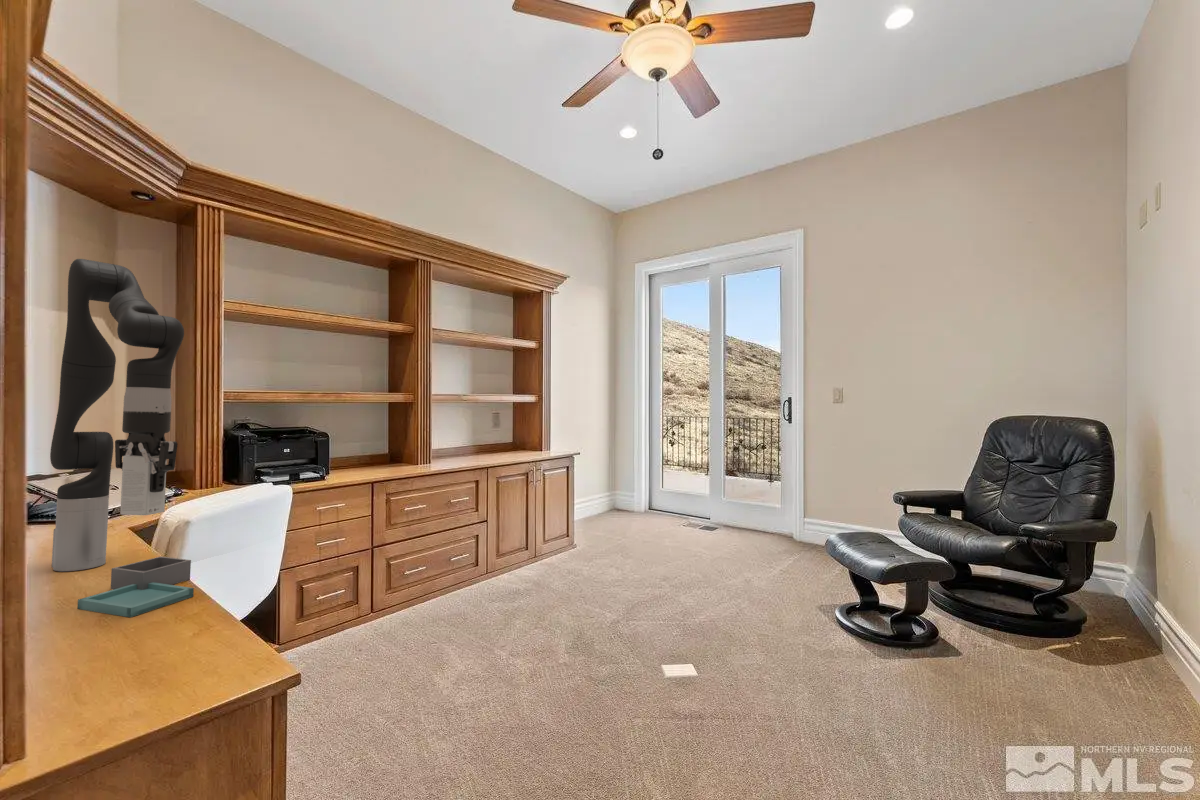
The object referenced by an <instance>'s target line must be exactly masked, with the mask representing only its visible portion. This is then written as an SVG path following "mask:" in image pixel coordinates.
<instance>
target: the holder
mask: <svg viewBox="0 0 1200 800" xmlns="http://www.w3.org/2000/svg"><path fill="white" fill-rule="evenodd" d="M191 561H192V560H191V559H186V558H177V557H168V556H156V557H153V558H149V559H144V560H139V561H136V562H133V563H132V562H131V563H129V564H124V565H120V566H116V567H112V568H111V569H110V570H111V573H110V574H111V575H110V590H114V589H118V588H121V587H125V586H128V585H132V584H137V589H139V590H144V589H148V584H149V583H153V582H154V583H161V584H169V585H176V584H180V583H182V582H183V583H184V582H186V581H189V580H191V568H192V567H191V565H192V562H191Z"/></svg>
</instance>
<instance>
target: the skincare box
mask: <svg viewBox="0 0 1200 800" xmlns="http://www.w3.org/2000/svg"><path fill="white" fill-rule="evenodd" d="M151 457H152V458H159V456H151ZM167 460H168V459H167ZM167 460H166V462H165V463H166V464H167V463H168V462H167ZM122 462H123V470H122V469H121V472H122V473H121V493H120V494H121V495H120V510H119V511H120V515H123V516H125V515H126V516H127V515H128V516H150V515H155V514H160V513H165V510H166V509H165V508H166V505H165V504H166V488H167V487H166V484H167V483H166V482H167V472H166V473H165V481H164V489H163V491H161V492H150V474H152V473H151V470H150V463H145V457H143V456H135V455H132V456H123V457H122ZM156 466H157V467H158V463H156Z"/></svg>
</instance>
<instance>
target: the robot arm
mask: <svg viewBox="0 0 1200 800" xmlns="http://www.w3.org/2000/svg"><path fill="white" fill-rule="evenodd" d="M90 301H93V302H95V301H96V302H103V303H108V310H109V313H110V315H111V316H112V317H113V319H114V320H115V321H116V322H117V329H116V331H117V337H118V338H119V340H120V341H121V342H122V343H124V344H126V345H128V346H131V347H137V348H138V347H139V348H148V349H156V350H157V349H158V350H157V353H156V354H155V355H154V356H152V357H146V358H136V359H132V360H129V362H128V363H127V367H126V380H125V381H126V382H125V383H126V384H125V386H126V387H125V391H124V395H123V407H122V408H123V409H122V426H121V427H122V429H121V430H122V432H123V433H125V434H128V436H127V439H123V438H122V439H116V440H115V441H114V439H113V436H112V434H111V433H110V432H107V431H75V430H76V427H77V425H78V423H79V422H80V419H81V417H82V416H83V415H84V414H85V413H86V412H87V410H88V409H90V407H91V406H93V404H95V403H96V402H97V401H98V400H99V399H100V398H102V396H103V395H104V394H105V393H107V391H109V389H110V388H111V387H112V385H113V384H114V380H115V370H116V363H117V361H116V360H117V357H116V355H115V351H114V349H113V348H112V347H111V345H110V344H109V343H108V342H107V340H106V338H105V337H104V336H103V335H102V333H101V332H100V330H99V328H98V327H97V326H96V323H95V322H94V320H93V318H92V315H91V309H90ZM66 313H67V315H66V316H67V319H66V321H67V323H66V330H65V339H64V344H63V351H62V352H63V353H62V357H61V358H62V359H61V368H60V377H59V380H60V381H59V383H60V384H59V395H58V396H59V397H58V407H57V413H56V417H55V418H56V419H55V423H54V430H53V434H52V439H51V446H50V452H49V453H50V457H49V458H50V464H51V466H52V467H53V468H54V469H55V470H60V471H65V470H66V471H67V470H70V471H72V470H86V469H87V470H88V469H89V470H91V472H90V473H89V474H87V475H85V476H83V477H81V478H80V479H77V480H75V481H71V482H68V483H65V484H62V485H59V486H58V488H57V491H56V510H55V512H56V515H55V528H54V529H53V532H52V533H53V534H52V535H53V537H52V553H51V554H52V556H51V568H52V569H53V571H55V572H73V571H83V570H88V569H93V568H97V567H101V566H102V565H105V564H106V561H107V560H106V559H107V547H108V546H107V544H108V542H107V541H108V525H109V524H108V523H109V522H108V521H109V503H110V502H109V501H110V484H111V471H112V463H113V455H115V456H114V458H115V460H114V461H115V462H114V463H115V468H116V469H121V471H122V470H123V456H132V455H135V456H143V457H145V463H150V470H151V473H152V474H150V492H161V491H163V489H164V481H165V473H166V474H167V473H168V472H169V471H173V470H174V469H175V466H176V459H177V453H178V452H177V451H178V442H177V441H175V440H173V441H171V440H170V441H167V440H166V438H165V434H167V433H169V432H171V421H172V420H171V419H172V392H171V391H172V390H171V389H172V388H171V385H172V372H173V371H172V370H173V366H174V364H175V363H174V362H175V359H176V357H177V354H178V352H179V350H180V347H181V346H182V342H183V340H184V336H185V329H184V326H183V324H182V322H181V321H180V320H179V319H177V318H175V317H173V316H168V315H160V314H159V311H158V310H157V309H156V308H155V307H154V306H153V305H152V304H151V303H150V302H149V301H148V300H147V299H146V298H145V296H144V294H143V290H142V289H141V286H140V284H139V283H138V280H137V278H136V277H135V275H134V273H133V272H132V271H131V270H130V269H129V268H127V267H125V266H123V265H118V264H115V263H108V262H103V261H102V262H101V261H96V260H91V259H90V260H89V259H85V258H76V259H74V260H73V261H72V262H71V264H70V267H69V271H68V277H67V312H66ZM151 456H159V458H152V457H151ZM166 460H168V462H166ZM165 462H166V463H165ZM156 463H158V467H157V466H156ZM167 463H168V464H167Z"/></svg>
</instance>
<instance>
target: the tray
mask: <svg viewBox="0 0 1200 800" xmlns="http://www.w3.org/2000/svg"><path fill="white" fill-rule="evenodd" d="M194 589H195V588H194V587H189V586H181V585H176V584H173V585H169V584H161V583H154V582H153V583H149V584H148V589H144V590H139V589H137V584H132V585H128V586H125V587H121V588H118V589H114V590H113V589H110V590H108V591H103V592H100V593H96V594H94V595H93V594H92V595H89V596H86V597H83V598H79V599H77V610H82V611H89V612H95V613H102V614H107V615H113V616H119V617H120V616H121V617H126V618H133V617H136V616H139V615H142V614H145V613H148V612H152V611H154V610H157V609H161V608H163V607H166V606H169V605H172V604H176V603H178V602H180V601H181V602H182V601H185V600H188V599H191V598H192V597H194V592H195V591H194Z"/></svg>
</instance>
